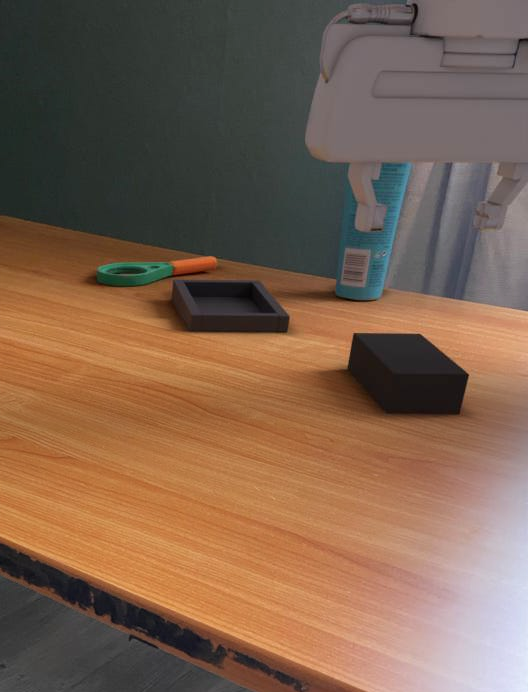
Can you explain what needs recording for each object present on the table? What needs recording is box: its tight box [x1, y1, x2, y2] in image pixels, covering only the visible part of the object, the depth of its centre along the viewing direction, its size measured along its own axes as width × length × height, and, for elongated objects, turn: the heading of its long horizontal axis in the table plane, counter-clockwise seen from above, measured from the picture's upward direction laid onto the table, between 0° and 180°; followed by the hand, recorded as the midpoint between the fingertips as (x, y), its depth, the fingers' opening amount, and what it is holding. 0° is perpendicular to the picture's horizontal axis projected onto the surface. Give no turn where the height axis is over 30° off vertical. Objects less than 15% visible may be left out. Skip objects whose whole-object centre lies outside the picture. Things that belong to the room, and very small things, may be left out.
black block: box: [346, 332, 470, 415], centre depth 79 cm, size 6×11×4 cm, turn 1°
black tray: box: [171, 279, 290, 334], centre depth 99 cm, size 9×15×2 cm, turn 1°
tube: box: [334, 162, 413, 301], centre depth 103 cm, size 7×5×19 cm, turn 85°
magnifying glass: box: [96, 255, 218, 287], centre depth 114 cm, size 15×6×2 cm, turn 116°
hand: (427, 229), depth 73 cm, fingers open, 8 cm apart
